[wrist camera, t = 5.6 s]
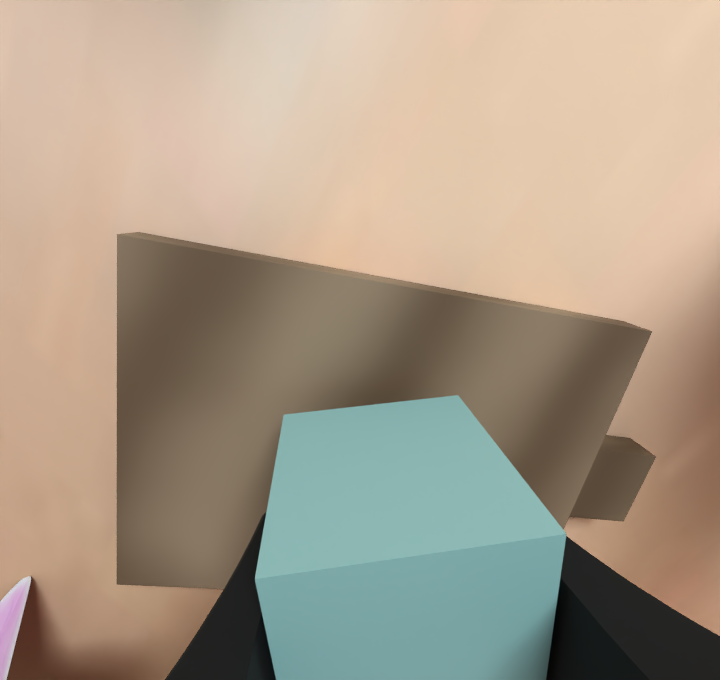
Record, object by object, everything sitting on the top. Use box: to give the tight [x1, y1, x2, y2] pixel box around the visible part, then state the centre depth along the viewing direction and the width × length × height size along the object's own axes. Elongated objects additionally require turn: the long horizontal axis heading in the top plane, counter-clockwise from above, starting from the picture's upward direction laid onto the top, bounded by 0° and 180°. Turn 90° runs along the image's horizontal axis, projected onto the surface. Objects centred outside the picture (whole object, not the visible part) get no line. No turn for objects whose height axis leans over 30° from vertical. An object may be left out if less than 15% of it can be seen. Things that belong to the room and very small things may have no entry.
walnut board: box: [117, 232, 656, 589], centre depth 13 cm, size 18×12×1 cm, turn 79°
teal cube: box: [255, 395, 566, 680], centre depth 9 cm, size 5×5×5 cm
